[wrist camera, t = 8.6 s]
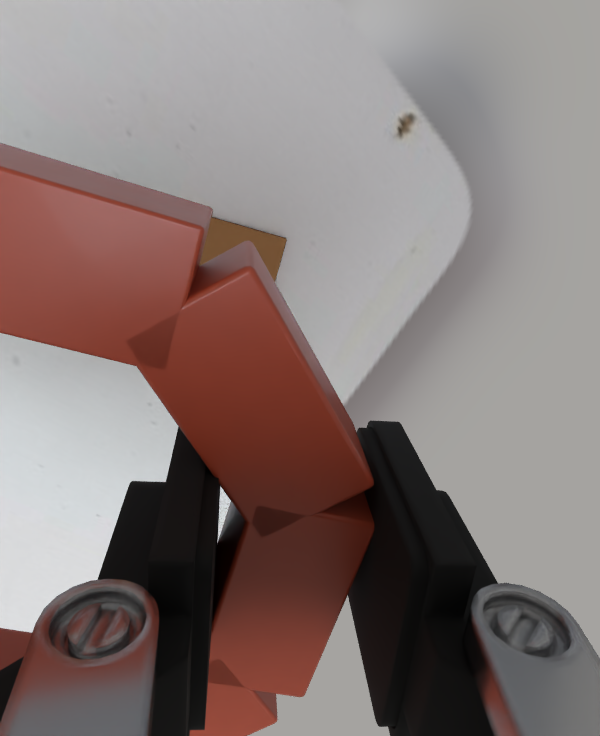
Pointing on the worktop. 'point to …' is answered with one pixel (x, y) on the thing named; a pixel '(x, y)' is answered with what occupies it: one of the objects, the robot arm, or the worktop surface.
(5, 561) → the worktop surface
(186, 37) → the worktop surface
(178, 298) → the terracotta ring
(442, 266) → the worktop surface
